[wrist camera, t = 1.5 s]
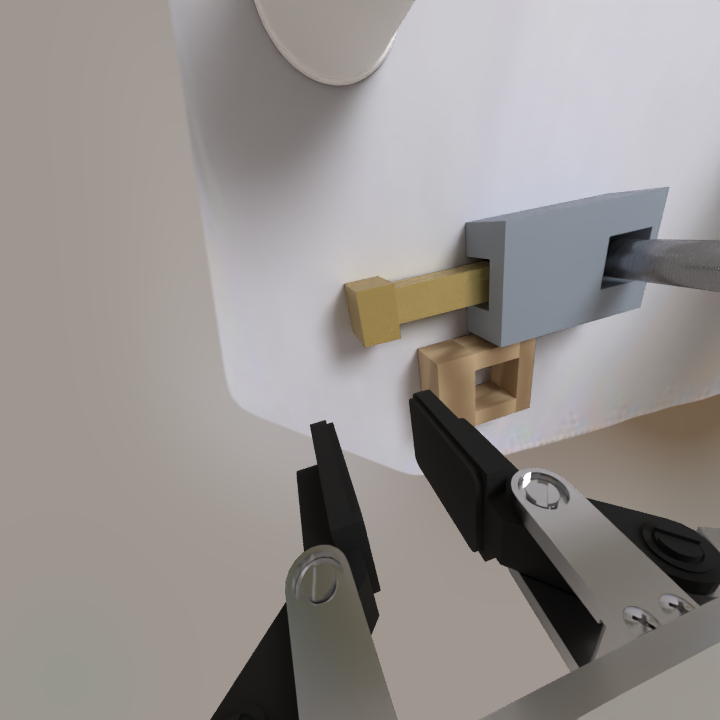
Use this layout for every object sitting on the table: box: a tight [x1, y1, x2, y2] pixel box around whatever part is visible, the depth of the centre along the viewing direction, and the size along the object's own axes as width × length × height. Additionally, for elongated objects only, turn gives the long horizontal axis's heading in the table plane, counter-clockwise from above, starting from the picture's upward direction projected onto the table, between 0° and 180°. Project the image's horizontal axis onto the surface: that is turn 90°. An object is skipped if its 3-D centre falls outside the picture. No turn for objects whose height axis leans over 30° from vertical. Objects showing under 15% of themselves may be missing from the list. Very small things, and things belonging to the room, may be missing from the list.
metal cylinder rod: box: [603, 238, 720, 292], centre depth 24 cm, size 3×3×14 cm
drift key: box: [344, 261, 490, 348], centre depth 25 cm, size 13×4×4 cm, turn 100°
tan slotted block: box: [418, 334, 536, 426], centre depth 30 cm, size 10×8×4 cm
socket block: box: [466, 187, 669, 347], centre depth 27 cm, size 15×10×5 cm, turn 100°
